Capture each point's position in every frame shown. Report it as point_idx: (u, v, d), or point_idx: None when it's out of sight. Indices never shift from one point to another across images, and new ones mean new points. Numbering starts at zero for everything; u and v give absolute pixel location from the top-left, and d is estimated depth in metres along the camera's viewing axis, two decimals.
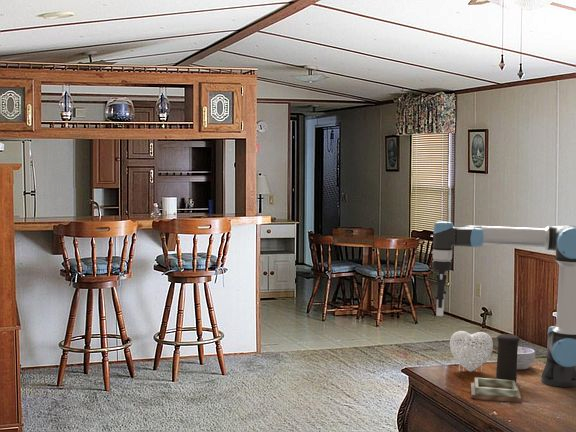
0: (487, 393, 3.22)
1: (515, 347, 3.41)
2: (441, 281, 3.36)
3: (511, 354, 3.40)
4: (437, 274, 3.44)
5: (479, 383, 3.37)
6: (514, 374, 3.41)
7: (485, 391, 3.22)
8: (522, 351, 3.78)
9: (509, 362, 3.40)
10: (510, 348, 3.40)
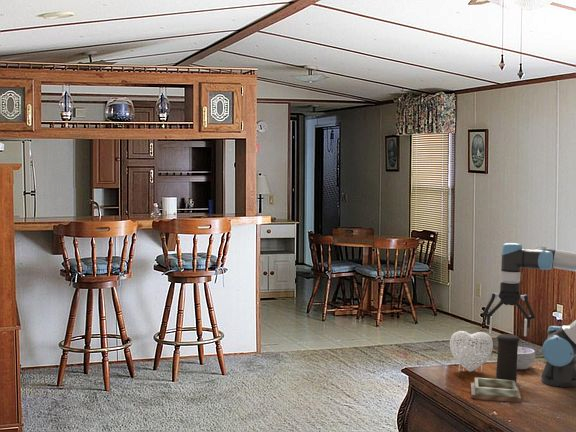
0: (487, 393, 3.22)
1: (515, 347, 3.41)
2: (490, 299, 3.44)
3: (511, 354, 3.40)
4: None
5: (479, 383, 3.37)
6: (514, 374, 3.41)
7: (485, 391, 3.22)
8: (522, 351, 3.78)
9: (509, 362, 3.40)
10: (510, 348, 3.40)
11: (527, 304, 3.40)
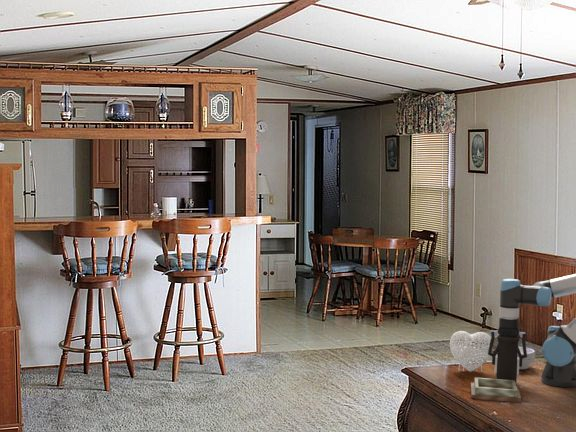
0: (487, 393, 3.22)
1: (515, 347, 3.41)
2: (491, 338, 3.45)
3: (511, 354, 3.40)
4: None
5: (479, 383, 3.37)
6: (514, 374, 3.41)
7: (485, 391, 3.22)
8: (522, 351, 3.78)
9: (509, 362, 3.40)
10: (510, 348, 3.40)
11: (523, 342, 3.41)
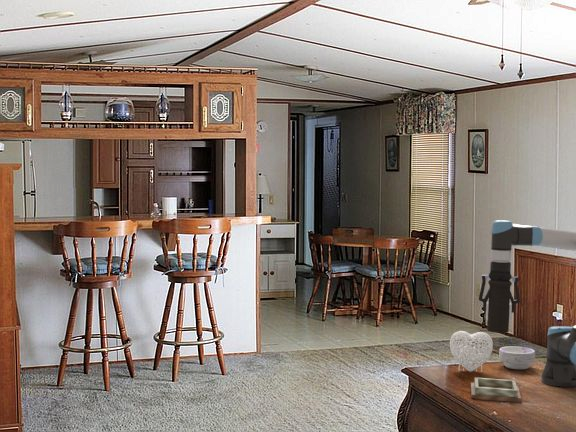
0: (487, 393, 3.22)
1: (507, 292, 3.23)
2: (482, 282, 3.27)
3: (503, 299, 3.23)
4: None
5: (479, 383, 3.37)
6: (506, 320, 3.24)
7: (485, 391, 3.22)
8: (522, 351, 3.78)
9: (501, 307, 3.23)
10: (501, 292, 3.23)
11: (516, 287, 3.24)
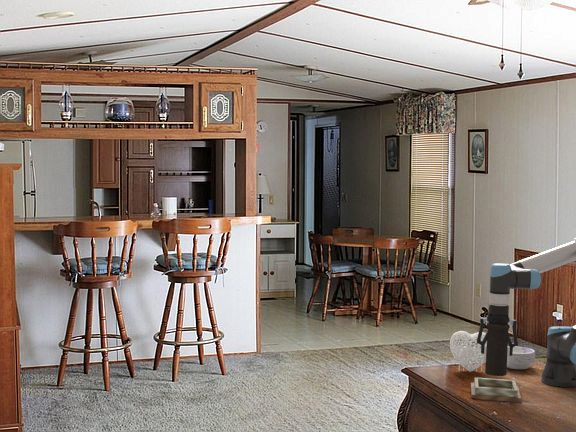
0: (487, 393, 3.22)
1: (505, 335, 3.25)
2: (480, 325, 3.29)
3: (501, 342, 3.24)
4: None
5: (479, 383, 3.37)
6: (504, 363, 3.25)
7: (485, 391, 3.22)
8: (522, 351, 3.78)
9: (499, 350, 3.24)
10: (499, 336, 3.24)
11: (514, 330, 3.25)
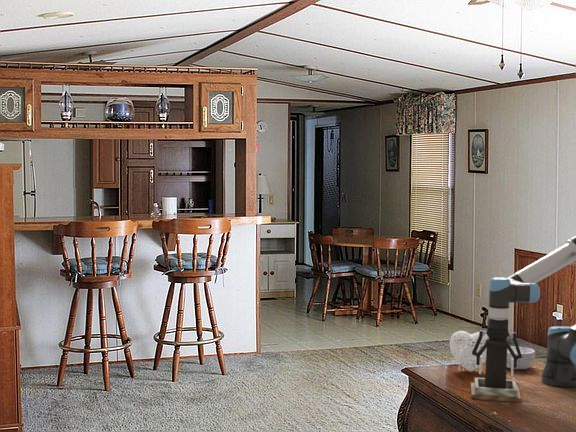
0: (487, 393, 3.22)
1: (504, 351, 3.25)
2: (478, 337, 3.29)
3: (500, 359, 3.24)
4: None
5: (479, 383, 3.37)
6: (503, 380, 3.26)
7: (485, 391, 3.22)
8: (522, 351, 3.78)
9: (498, 367, 3.25)
10: (498, 353, 3.24)
11: (515, 342, 3.25)
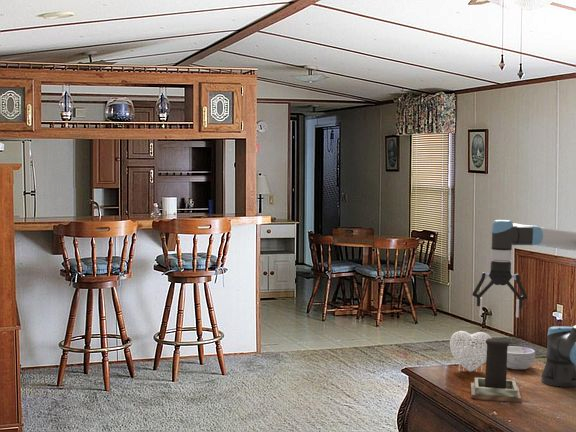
0: (487, 393, 3.22)
1: (504, 351, 3.25)
2: (480, 279, 3.28)
3: (500, 359, 3.24)
4: None
5: (479, 383, 3.37)
6: (503, 380, 3.26)
7: (485, 391, 3.22)
8: (522, 351, 3.78)
9: (498, 367, 3.25)
10: (499, 353, 3.24)
11: (519, 284, 3.24)
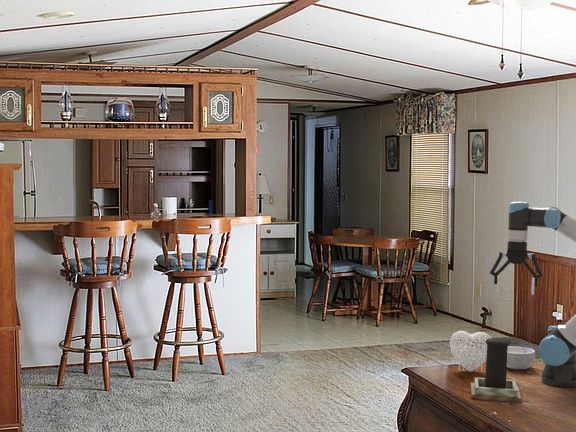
0: (487, 393, 3.22)
1: (504, 352, 3.25)
2: None
3: (500, 359, 3.24)
4: None
5: (479, 383, 3.37)
6: (503, 380, 3.26)
7: (485, 391, 3.22)
8: (522, 351, 3.78)
9: (498, 367, 3.25)
10: (499, 353, 3.24)
11: (534, 262, 3.40)
